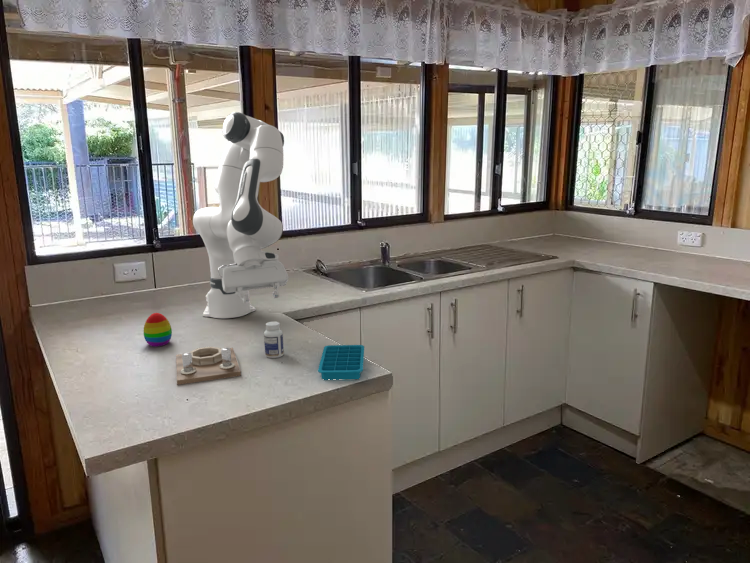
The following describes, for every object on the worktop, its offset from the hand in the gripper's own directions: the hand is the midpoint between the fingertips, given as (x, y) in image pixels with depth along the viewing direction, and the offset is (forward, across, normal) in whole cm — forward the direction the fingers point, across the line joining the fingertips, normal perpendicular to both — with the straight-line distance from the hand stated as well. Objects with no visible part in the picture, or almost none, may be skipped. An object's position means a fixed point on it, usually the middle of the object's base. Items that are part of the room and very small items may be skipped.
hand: (261, 299), depth 169 cm
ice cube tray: (+31, +12, -10) cm, 35 cm away
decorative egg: (-3, -28, +24) cm, 37 cm away
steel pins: (+20, -20, -1) cm, 28 cm away
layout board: (+17, -20, +4) cm, 26 cm away
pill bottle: (+18, -1, +3) cm, 18 cm away
